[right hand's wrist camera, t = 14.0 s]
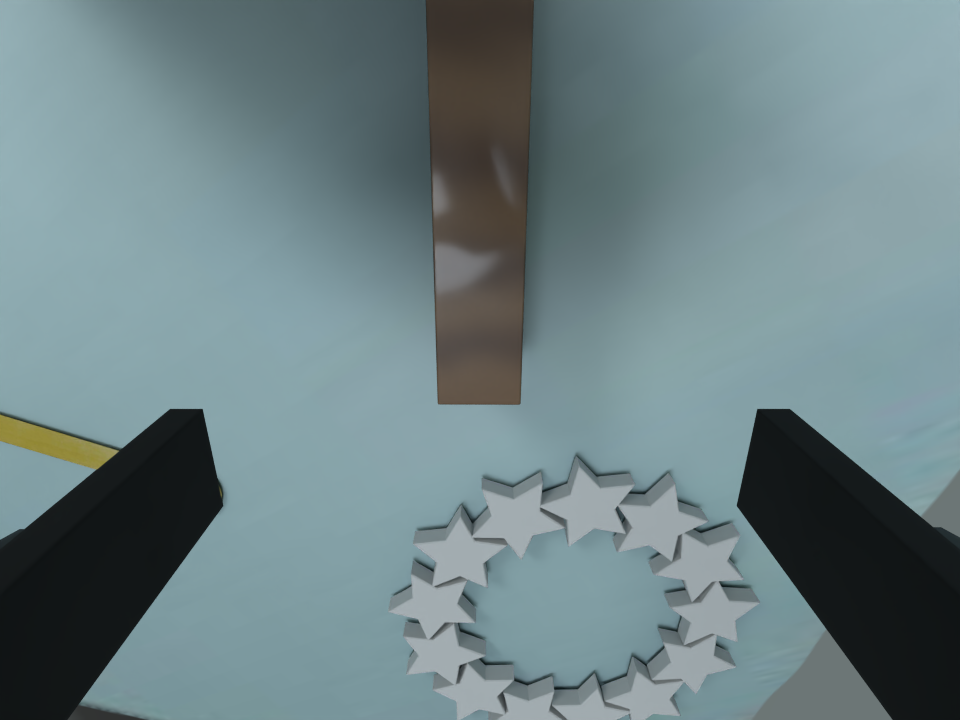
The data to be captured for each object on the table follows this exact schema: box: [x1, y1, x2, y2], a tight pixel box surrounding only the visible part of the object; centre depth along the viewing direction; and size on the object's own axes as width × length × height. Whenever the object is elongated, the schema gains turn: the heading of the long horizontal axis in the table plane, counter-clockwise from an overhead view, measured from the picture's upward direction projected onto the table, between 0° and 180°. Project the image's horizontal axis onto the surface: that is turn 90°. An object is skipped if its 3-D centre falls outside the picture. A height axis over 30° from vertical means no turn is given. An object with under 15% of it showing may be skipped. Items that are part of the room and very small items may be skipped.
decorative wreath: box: [388, 456, 760, 720], centre depth 44 cm, size 30×2×30 cm
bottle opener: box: [0, 415, 222, 498], centre depth 39 cm, size 5×1×20 cm
